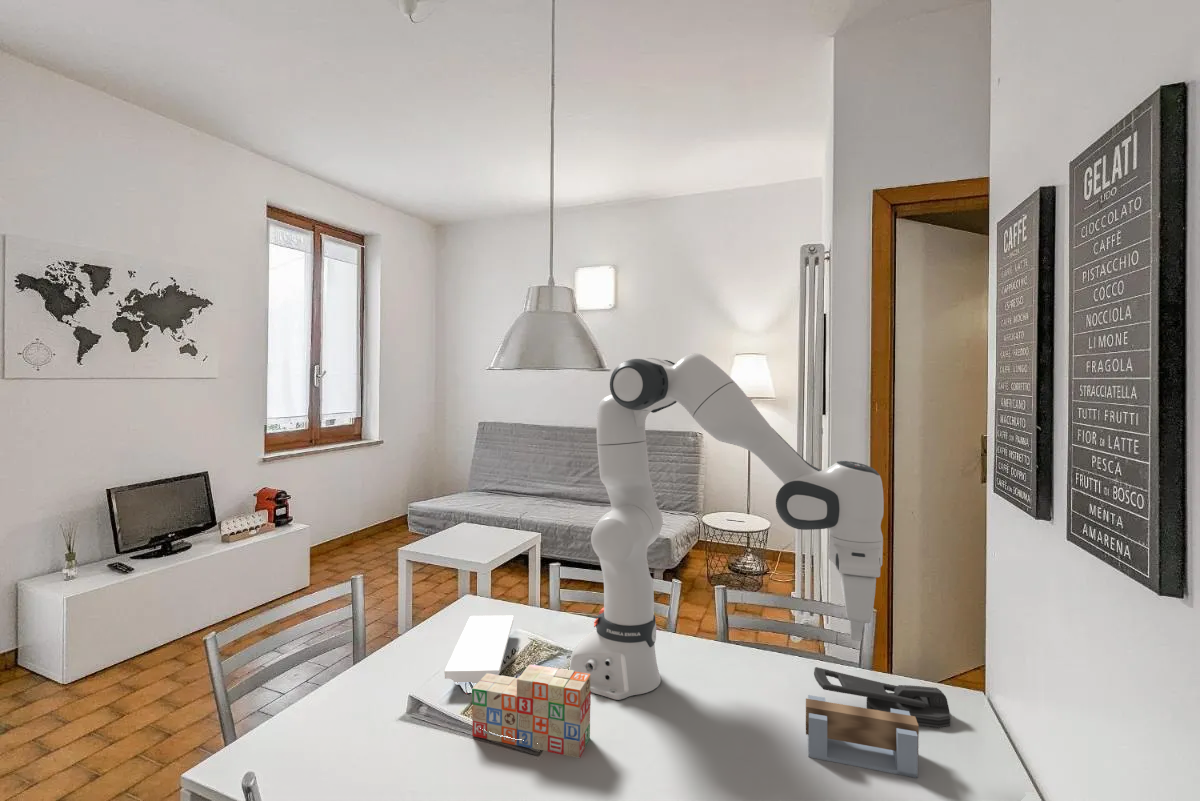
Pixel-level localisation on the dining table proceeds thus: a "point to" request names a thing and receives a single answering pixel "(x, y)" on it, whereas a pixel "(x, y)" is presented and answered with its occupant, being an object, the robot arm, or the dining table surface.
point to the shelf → (479, 648)
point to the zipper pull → (892, 697)
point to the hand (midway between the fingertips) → (853, 628)
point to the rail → (861, 724)
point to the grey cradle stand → (864, 748)
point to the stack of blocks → (535, 709)
